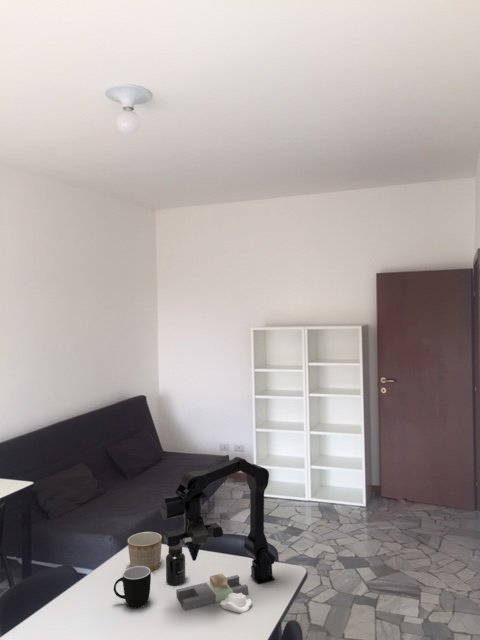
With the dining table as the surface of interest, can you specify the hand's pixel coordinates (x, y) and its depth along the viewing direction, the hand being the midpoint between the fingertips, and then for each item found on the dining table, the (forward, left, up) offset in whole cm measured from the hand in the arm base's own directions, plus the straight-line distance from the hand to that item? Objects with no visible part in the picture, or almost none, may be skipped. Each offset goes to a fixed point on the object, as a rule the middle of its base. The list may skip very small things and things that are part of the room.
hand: (194, 560), depth 173 cm
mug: (+19, -7, -13) cm, 24 cm away
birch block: (-8, 0, -10) cm, 13 cm away
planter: (+9, -31, -13) cm, 35 cm away
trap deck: (-6, 0, -13) cm, 14 cm away
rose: (-11, +9, -14) cm, 19 cm away
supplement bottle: (+2, -15, -13) cm, 20 cm away
